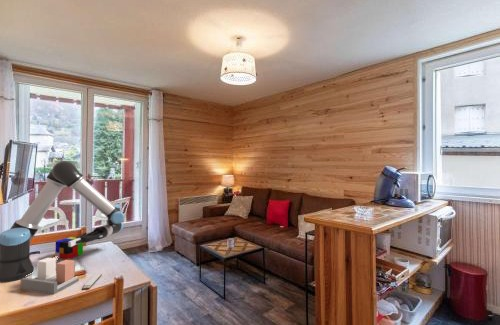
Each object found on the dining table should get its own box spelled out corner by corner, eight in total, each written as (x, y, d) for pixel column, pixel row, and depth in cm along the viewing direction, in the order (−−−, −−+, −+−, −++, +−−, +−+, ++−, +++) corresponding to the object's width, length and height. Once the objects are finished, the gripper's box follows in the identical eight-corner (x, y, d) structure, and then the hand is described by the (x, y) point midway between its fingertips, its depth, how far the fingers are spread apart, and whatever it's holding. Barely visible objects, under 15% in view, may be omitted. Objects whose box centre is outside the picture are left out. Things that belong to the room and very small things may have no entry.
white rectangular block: (48, 274, 129) (48, 257, 129) (56, 275, 128) (57, 258, 128) (37, 279, 123) (37, 261, 123) (45, 280, 122) (46, 262, 122)
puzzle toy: (55, 257, 156) (55, 241, 156) (71, 252, 165) (71, 236, 165) (67, 259, 153) (67, 243, 153) (82, 253, 162) (82, 238, 162)
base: (48, 277, 130) (48, 267, 130) (78, 281, 126) (78, 271, 126) (20, 289, 117) (21, 279, 117) (53, 294, 113) (54, 283, 113)
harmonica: (95, 276, 132) (95, 273, 132) (101, 276, 133) (101, 272, 133) (82, 290, 118) (82, 286, 118) (89, 290, 118) (89, 286, 118)
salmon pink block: (66, 277, 127) (67, 259, 126) (75, 278, 126) (75, 260, 126) (56, 282, 121) (56, 263, 121) (64, 283, 120) (65, 264, 120)
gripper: (111, 238, 159) (79, 252, 136) (93, 237, 161) (59, 250, 138) (111, 226, 159) (79, 238, 135) (93, 225, 161) (59, 236, 138)
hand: (69, 244), depth 137 cm, fingers closed
